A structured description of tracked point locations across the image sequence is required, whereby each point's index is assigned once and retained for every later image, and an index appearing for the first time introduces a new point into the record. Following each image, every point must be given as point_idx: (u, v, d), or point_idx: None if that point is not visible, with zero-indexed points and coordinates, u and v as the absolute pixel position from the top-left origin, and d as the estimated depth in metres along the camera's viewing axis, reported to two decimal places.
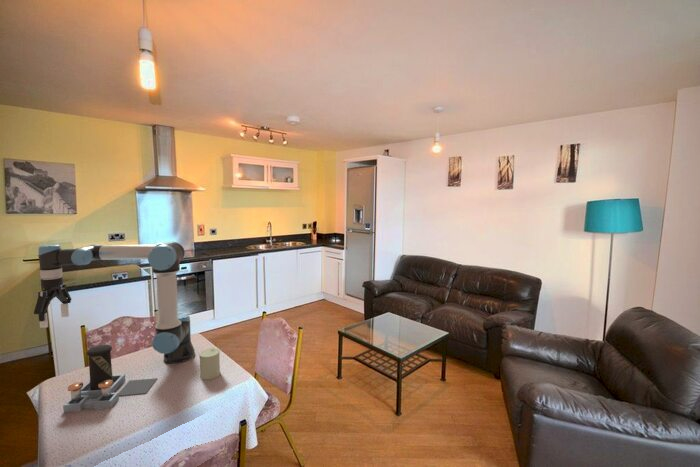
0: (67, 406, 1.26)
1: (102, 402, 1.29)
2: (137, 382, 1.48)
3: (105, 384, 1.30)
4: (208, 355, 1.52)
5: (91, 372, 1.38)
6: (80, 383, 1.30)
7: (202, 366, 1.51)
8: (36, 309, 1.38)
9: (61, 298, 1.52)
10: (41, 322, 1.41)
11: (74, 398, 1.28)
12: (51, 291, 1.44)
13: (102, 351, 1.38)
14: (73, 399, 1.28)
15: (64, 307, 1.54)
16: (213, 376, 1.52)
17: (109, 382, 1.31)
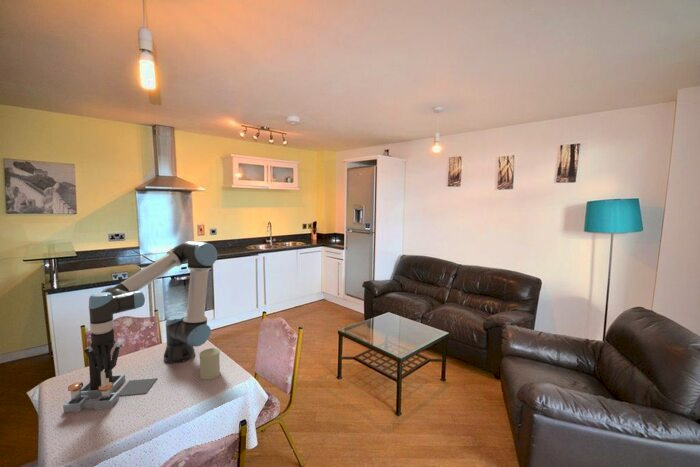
0: (67, 406, 1.26)
1: (102, 402, 1.29)
2: (137, 382, 1.48)
3: (105, 387, 1.30)
4: (208, 355, 1.52)
5: (91, 372, 1.38)
6: (80, 383, 1.30)
7: (202, 366, 1.51)
8: None
9: None
10: None
11: (74, 398, 1.28)
12: (94, 345, 1.28)
13: None
14: (73, 399, 1.28)
15: None
16: (213, 376, 1.52)
17: (109, 385, 1.32)
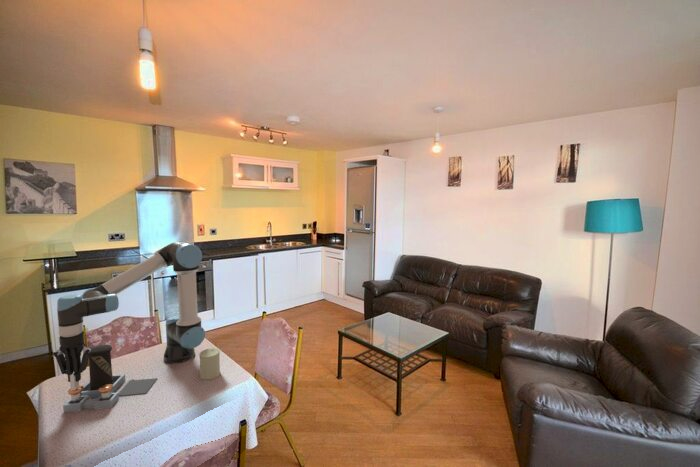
0: (67, 406, 1.26)
1: (102, 402, 1.29)
2: (137, 382, 1.48)
3: (105, 388, 1.30)
4: (208, 355, 1.52)
5: (91, 372, 1.38)
6: (80, 386, 1.31)
7: (202, 366, 1.51)
8: None
9: None
10: None
11: (74, 402, 1.28)
12: (63, 348, 1.26)
13: (102, 351, 1.38)
14: None
15: None
16: (213, 376, 1.52)
17: (109, 386, 1.32)
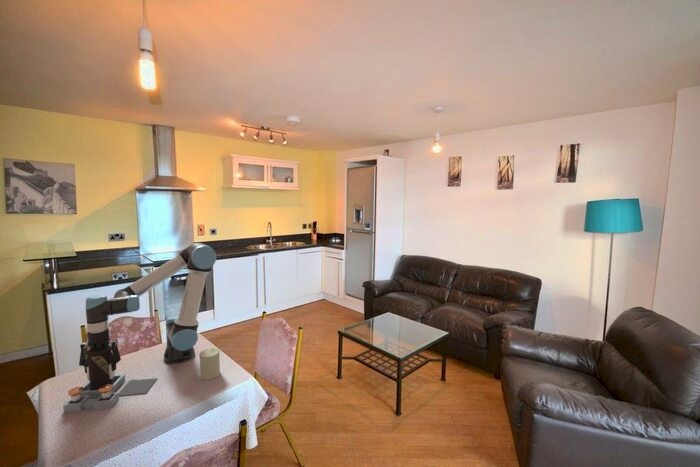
0: (67, 406, 1.26)
1: (102, 402, 1.29)
2: (137, 382, 1.48)
3: (105, 388, 1.30)
4: (208, 355, 1.52)
5: (91, 372, 1.38)
6: (80, 387, 1.31)
7: (202, 366, 1.51)
8: None
9: None
10: None
11: None
12: (91, 343, 1.38)
13: (102, 351, 1.38)
14: None
15: None
16: (213, 376, 1.52)
17: (109, 386, 1.32)
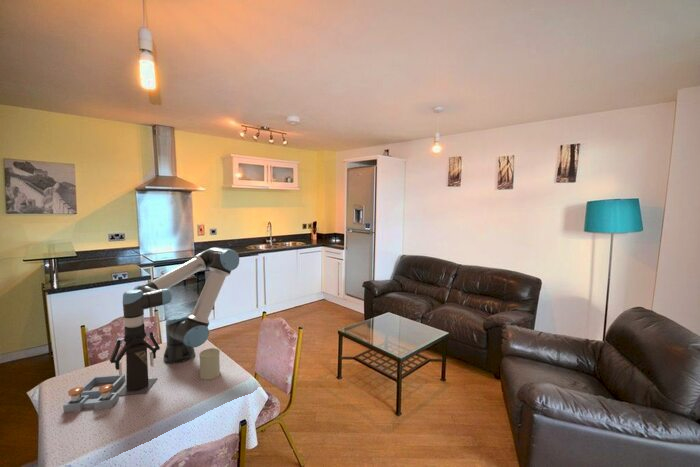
0: (67, 406, 1.26)
1: (102, 402, 1.29)
2: None
3: (105, 388, 1.30)
4: (208, 355, 1.52)
5: (133, 368, 1.40)
6: (80, 387, 1.31)
7: (202, 366, 1.51)
8: (111, 357, 1.36)
9: None
10: None
11: None
12: (128, 339, 1.39)
13: (145, 345, 1.43)
14: None
15: (150, 356, 1.47)
16: (213, 376, 1.52)
17: (109, 386, 1.32)
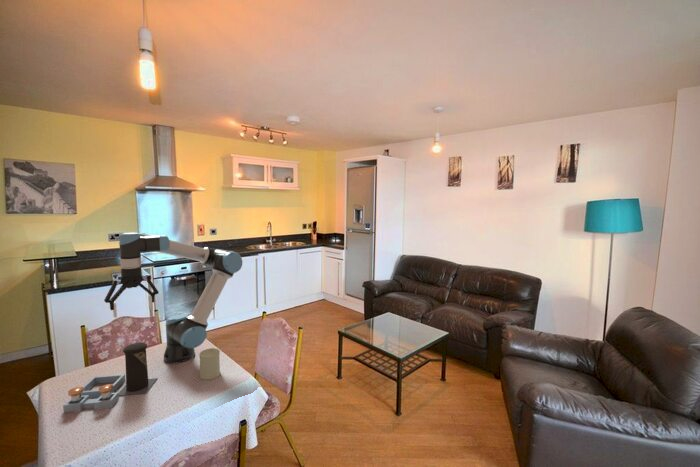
0: (67, 406, 1.26)
1: (102, 402, 1.29)
2: None
3: (105, 388, 1.30)
4: (208, 355, 1.52)
5: (133, 370, 1.39)
6: (80, 387, 1.31)
7: (202, 366, 1.51)
8: (106, 297, 1.35)
9: None
10: (113, 311, 1.38)
11: None
12: (125, 281, 1.38)
13: (144, 346, 1.42)
14: None
15: (149, 299, 1.46)
16: (213, 376, 1.52)
17: (109, 386, 1.32)
